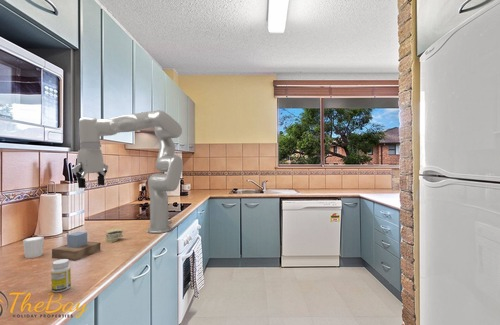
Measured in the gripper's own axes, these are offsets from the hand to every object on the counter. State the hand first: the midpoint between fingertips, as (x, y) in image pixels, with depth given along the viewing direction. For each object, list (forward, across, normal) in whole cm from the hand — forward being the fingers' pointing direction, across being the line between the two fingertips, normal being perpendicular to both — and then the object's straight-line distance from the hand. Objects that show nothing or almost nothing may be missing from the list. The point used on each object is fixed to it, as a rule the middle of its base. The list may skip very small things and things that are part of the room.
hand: (92, 186), depth 116 cm
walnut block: (+28, +6, -2) cm, 29 cm away
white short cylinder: (+28, +12, -18) cm, 35 cm away
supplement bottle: (+27, +31, +21) cm, 46 cm away
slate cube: (+24, +6, -3) cm, 25 cm away
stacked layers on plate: (+29, -13, -2) cm, 32 cm away
